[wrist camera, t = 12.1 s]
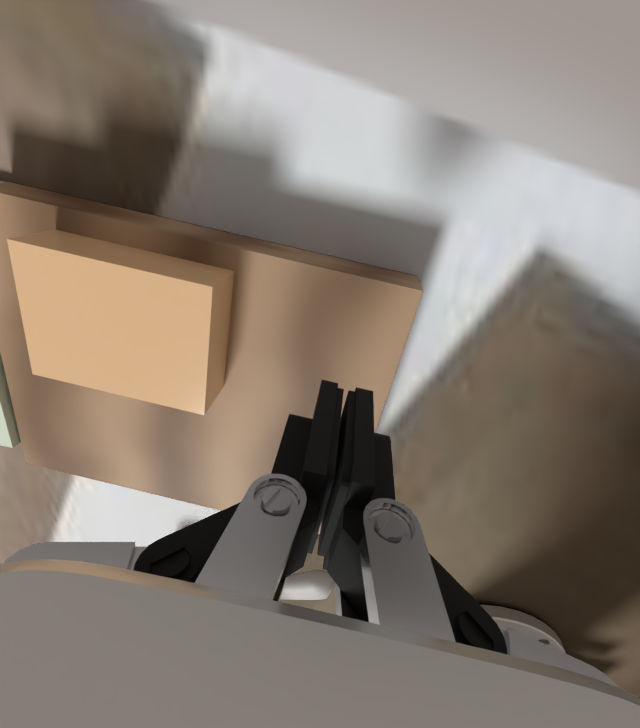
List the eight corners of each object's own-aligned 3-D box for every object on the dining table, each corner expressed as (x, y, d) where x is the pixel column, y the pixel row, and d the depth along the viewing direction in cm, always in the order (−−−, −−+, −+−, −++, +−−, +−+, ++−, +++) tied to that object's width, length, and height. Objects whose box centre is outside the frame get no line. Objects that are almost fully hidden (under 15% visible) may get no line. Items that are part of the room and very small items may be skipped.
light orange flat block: (234, 271, 16) (212, 287, 14) (223, 386, 19) (204, 415, 17) (55, 229, 16) (7, 238, 14) (71, 350, 19) (32, 374, 17)
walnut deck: (416, 276, 18) (423, 291, 16) (341, 507, 25) (338, 539, 23) (11, 182, 18) (-39, 184, 16) (55, 437, 26) (25, 462, 24)
